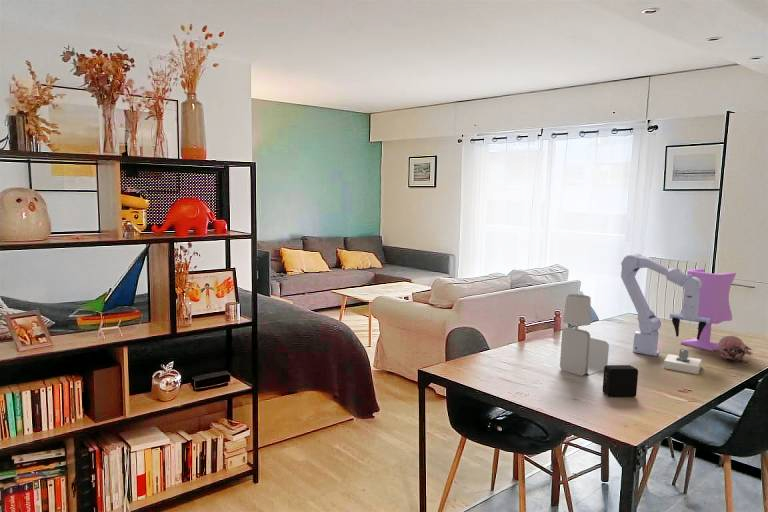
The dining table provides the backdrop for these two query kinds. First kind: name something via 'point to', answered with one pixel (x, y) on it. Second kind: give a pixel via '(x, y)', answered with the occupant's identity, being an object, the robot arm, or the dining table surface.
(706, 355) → the dining table surface
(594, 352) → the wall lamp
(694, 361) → the socket block
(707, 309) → the pink table lamp
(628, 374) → the electronic device
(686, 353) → the peg
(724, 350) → the toy
